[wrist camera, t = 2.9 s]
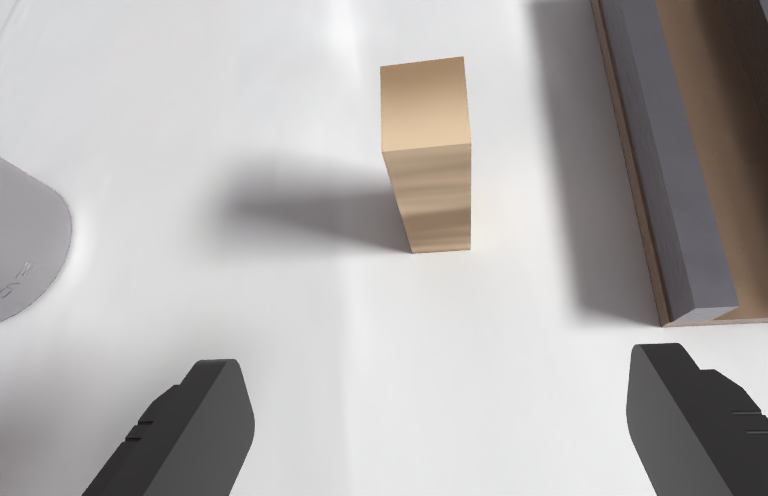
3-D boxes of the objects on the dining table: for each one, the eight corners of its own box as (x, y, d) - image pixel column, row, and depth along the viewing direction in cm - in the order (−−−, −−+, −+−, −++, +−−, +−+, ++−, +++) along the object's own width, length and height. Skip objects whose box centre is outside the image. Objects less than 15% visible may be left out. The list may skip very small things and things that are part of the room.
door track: (856, 318, 22) (923, 297, 19) (661, 327, 23) (693, 308, 20) (734, -21, 29) (767, -79, 26) (590, -2, 30) (604, -55, 27)
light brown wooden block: (470, 249, 26) (471, 142, 17) (412, 253, 26) (381, 152, 17) (465, 187, 27) (463, 56, 18) (410, 192, 28) (380, 66, 18)
